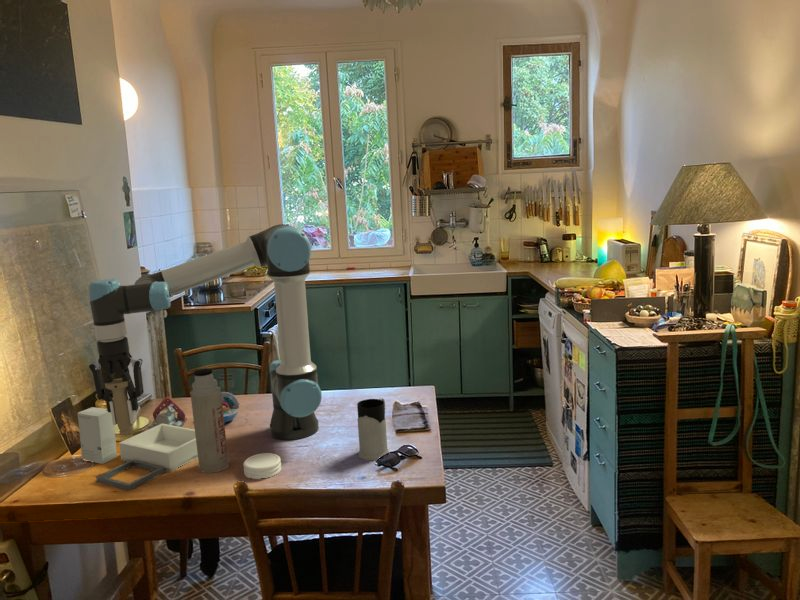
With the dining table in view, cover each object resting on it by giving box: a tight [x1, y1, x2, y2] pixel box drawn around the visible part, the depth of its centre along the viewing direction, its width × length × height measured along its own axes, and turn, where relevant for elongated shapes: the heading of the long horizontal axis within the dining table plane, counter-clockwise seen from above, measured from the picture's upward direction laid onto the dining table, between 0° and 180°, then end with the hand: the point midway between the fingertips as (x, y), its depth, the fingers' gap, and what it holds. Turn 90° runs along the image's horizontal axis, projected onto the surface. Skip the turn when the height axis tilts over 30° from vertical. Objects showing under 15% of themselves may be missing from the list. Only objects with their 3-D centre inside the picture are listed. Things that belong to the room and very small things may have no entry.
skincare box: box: [77, 406, 118, 465], centre depth 198 cm, size 8×6×15 cm
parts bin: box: [118, 424, 198, 473], centre depth 199 cm, size 20×16×6 cm
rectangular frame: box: [95, 460, 166, 492], centre depth 186 cm, size 13×12×2 cm
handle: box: [104, 377, 134, 437], centre depth 182 cm, size 5×6×15 cm
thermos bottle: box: [189, 367, 230, 474], centre depth 187 cm, size 8×8×28 cm
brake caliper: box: [147, 396, 188, 429], centre depth 218 cm, size 11×11×12 cm
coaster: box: [243, 452, 282, 480], centre depth 185 cm, size 10×10×4 cm
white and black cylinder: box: [356, 397, 390, 461], centre depth 194 cm, size 9×14×15 cm, turn 160°
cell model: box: [221, 391, 241, 424], centre depth 224 cm, size 10×12×10 cm
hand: (125, 422), depth 183 cm, fingers closed on handle, 4 cm apart
